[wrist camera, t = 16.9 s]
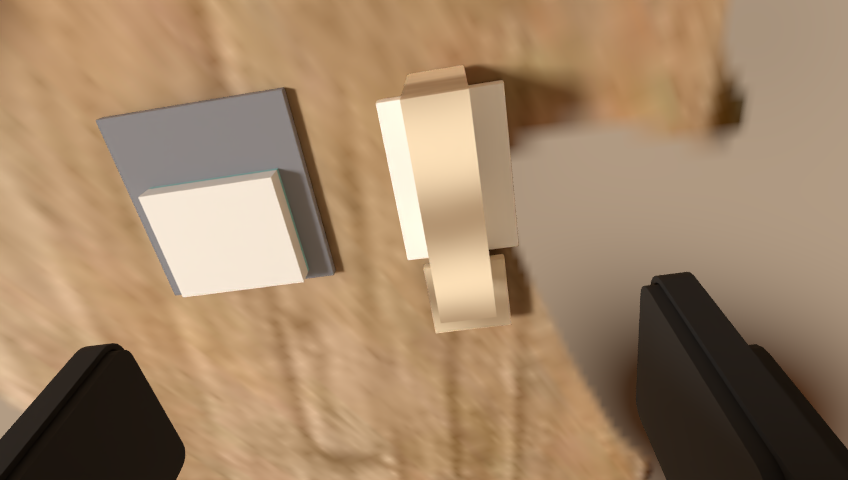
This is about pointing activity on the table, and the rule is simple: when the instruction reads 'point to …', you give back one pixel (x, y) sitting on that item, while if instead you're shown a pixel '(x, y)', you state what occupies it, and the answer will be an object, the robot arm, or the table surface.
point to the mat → (218, 157)
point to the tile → (227, 233)
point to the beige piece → (452, 203)
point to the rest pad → (491, 164)
